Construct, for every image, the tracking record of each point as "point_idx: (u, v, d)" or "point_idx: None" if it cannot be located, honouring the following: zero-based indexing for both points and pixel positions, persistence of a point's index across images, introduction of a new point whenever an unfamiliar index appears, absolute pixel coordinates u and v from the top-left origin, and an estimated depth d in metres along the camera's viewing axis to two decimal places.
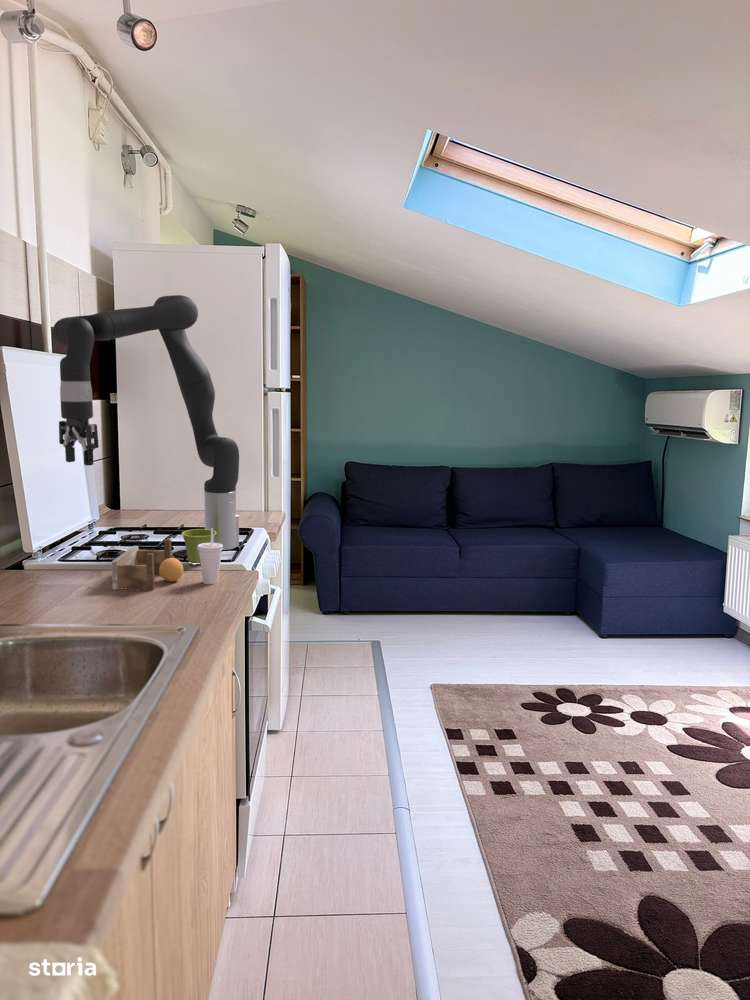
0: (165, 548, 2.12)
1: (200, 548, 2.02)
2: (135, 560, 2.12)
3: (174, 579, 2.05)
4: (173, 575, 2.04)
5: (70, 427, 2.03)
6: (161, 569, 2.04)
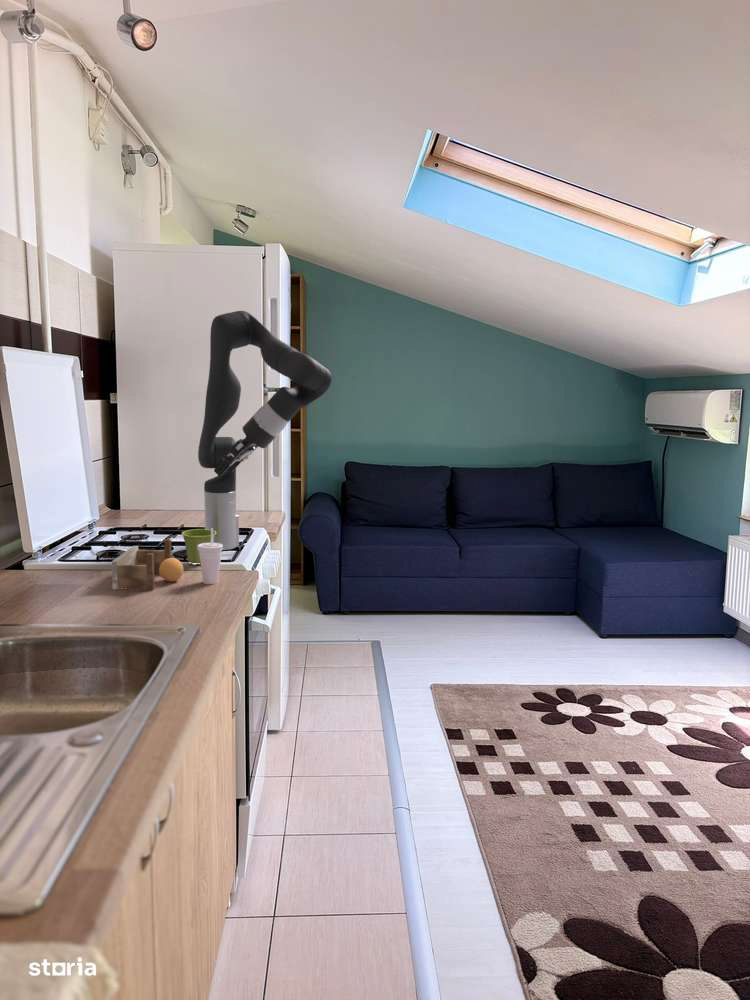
0: (165, 548, 2.12)
1: (200, 548, 2.02)
2: (135, 560, 2.12)
3: (174, 579, 2.05)
4: (173, 575, 2.04)
5: None
6: (161, 569, 2.04)
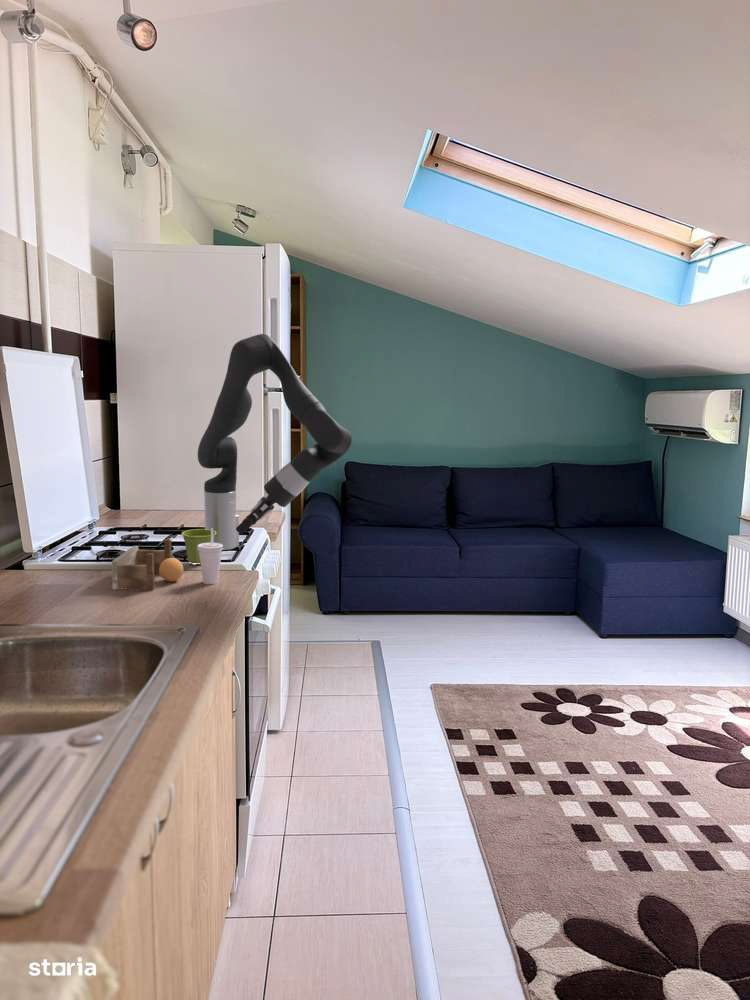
0: (165, 548, 2.12)
1: (200, 548, 2.02)
2: (135, 560, 2.12)
3: (174, 579, 2.05)
4: (173, 575, 2.04)
5: None
6: (161, 569, 2.04)
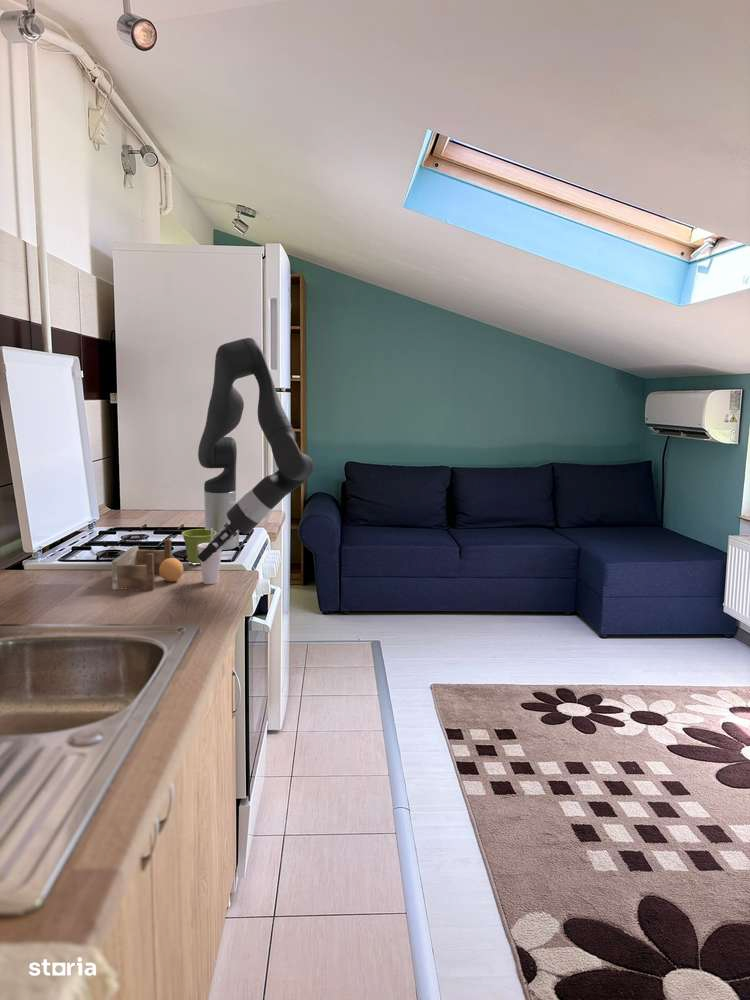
0: (165, 548, 2.12)
1: (200, 548, 2.03)
2: (135, 560, 2.12)
3: (174, 579, 2.05)
4: (173, 575, 2.04)
5: None
6: (161, 569, 2.04)
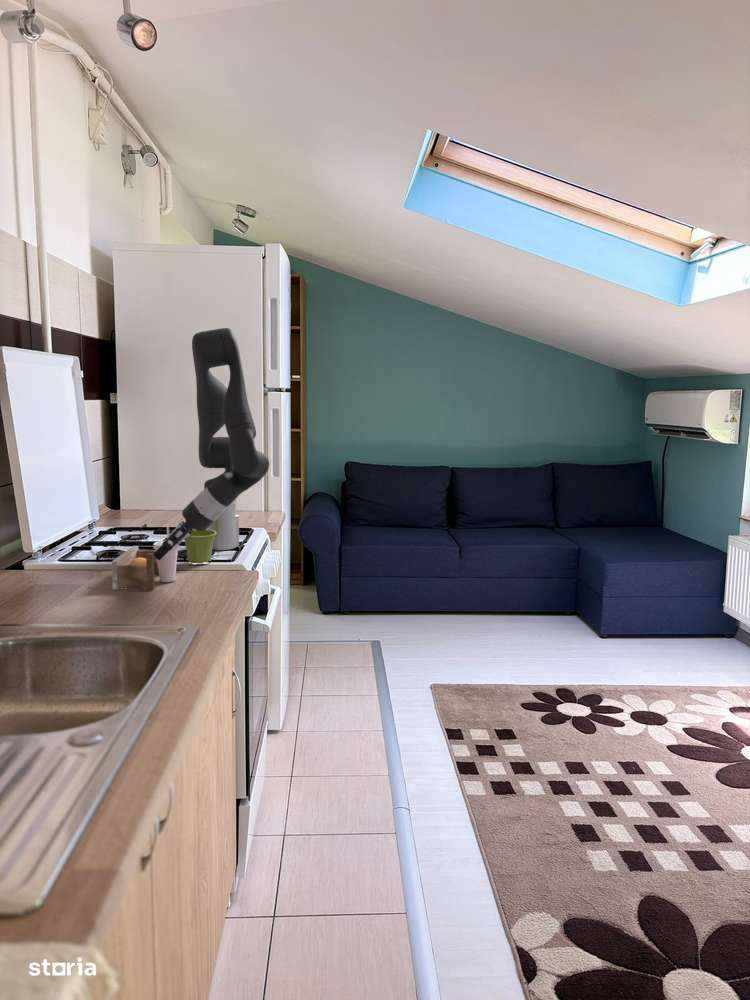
0: None
1: (156, 546, 2.03)
2: None
3: (137, 562, 2.04)
4: None
5: None
6: None
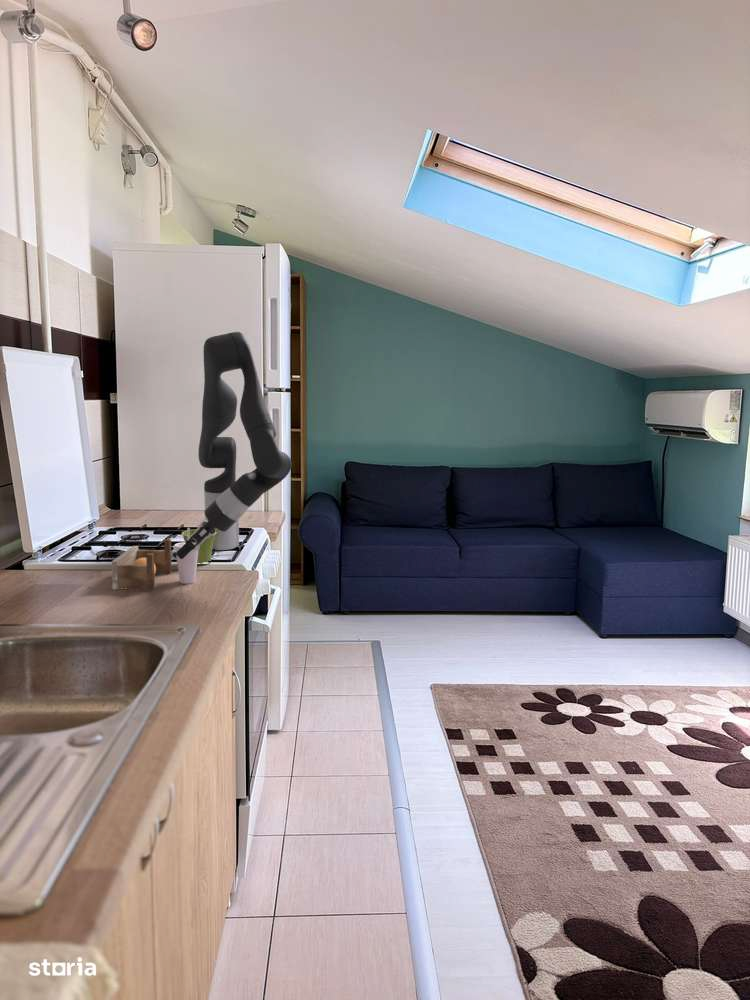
0: (165, 548, 2.12)
1: (176, 547, 2.03)
2: (135, 560, 2.12)
3: (144, 563, 2.04)
4: None
5: None
6: None
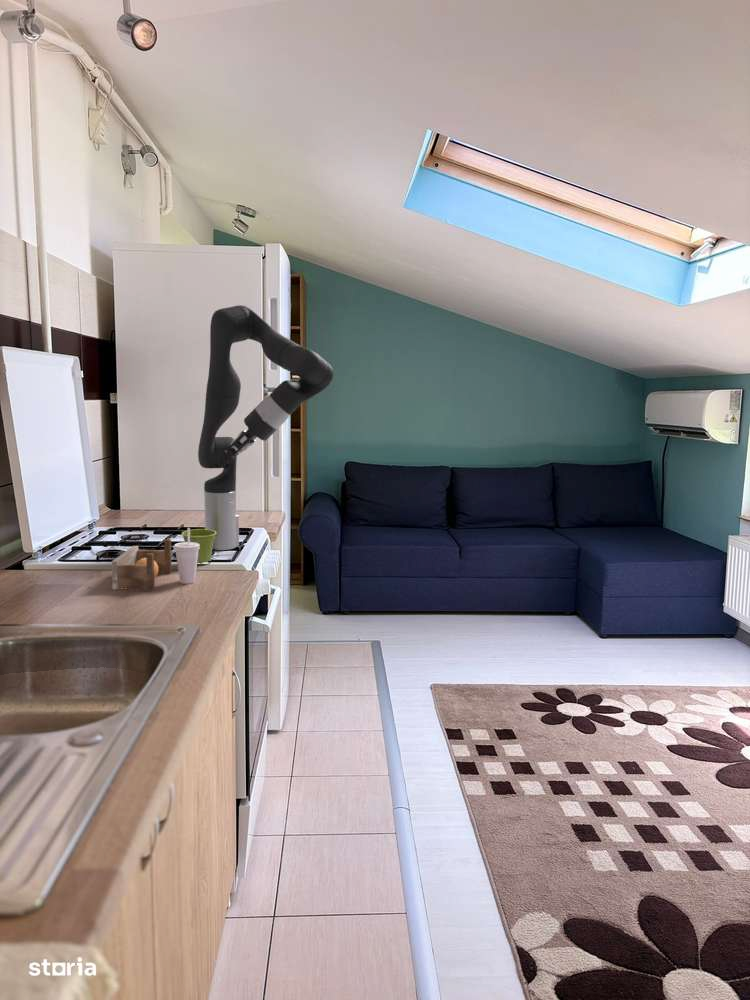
0: (165, 548, 2.12)
1: (176, 547, 2.03)
2: (135, 560, 2.12)
3: None
4: None
5: None
6: None
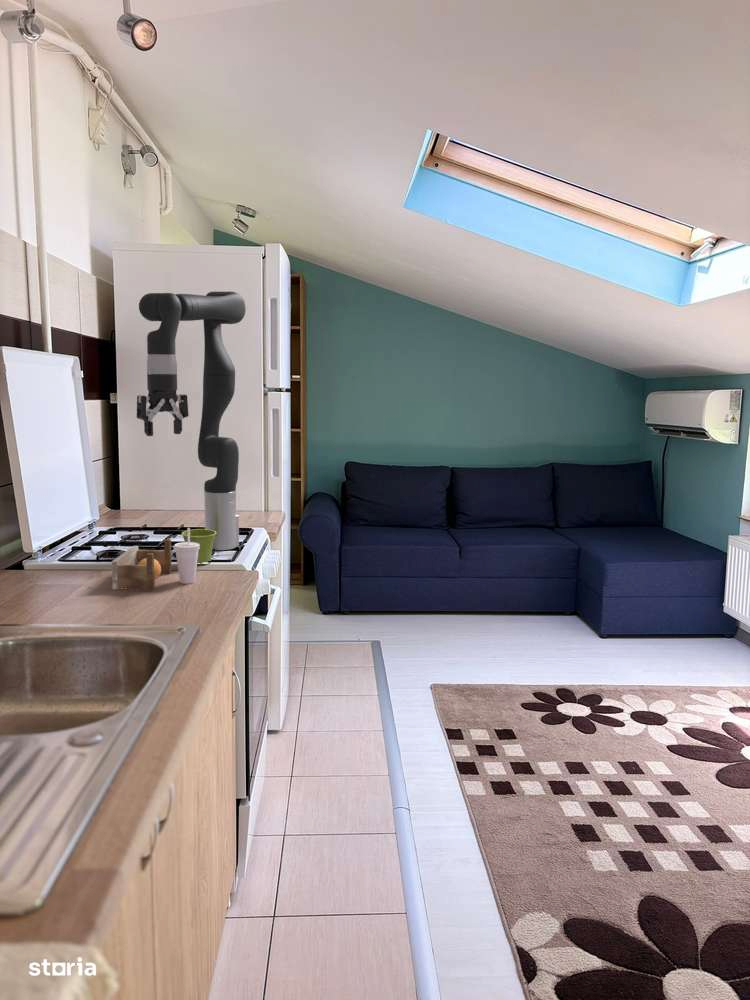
0: (165, 548, 2.12)
1: (176, 547, 2.03)
2: (135, 560, 2.12)
3: None
4: None
5: None
6: None
